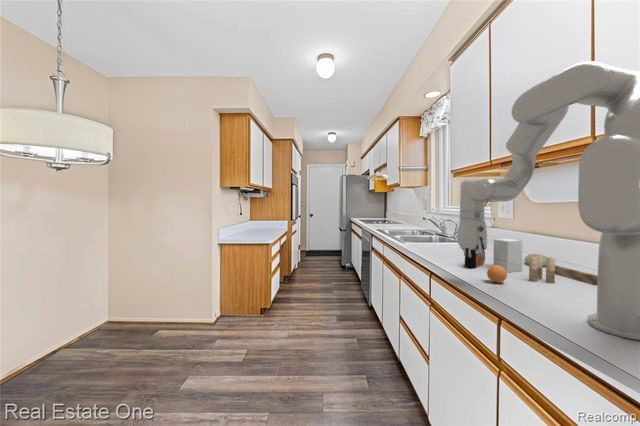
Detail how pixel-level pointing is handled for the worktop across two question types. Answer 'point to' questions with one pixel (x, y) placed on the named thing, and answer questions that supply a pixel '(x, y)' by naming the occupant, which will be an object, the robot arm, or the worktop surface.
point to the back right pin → (550, 270)
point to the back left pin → (539, 266)
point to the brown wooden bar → (577, 275)
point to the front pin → (533, 268)
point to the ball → (497, 274)
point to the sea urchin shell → (533, 256)
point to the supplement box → (508, 254)
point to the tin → (480, 259)
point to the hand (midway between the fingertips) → (470, 267)
